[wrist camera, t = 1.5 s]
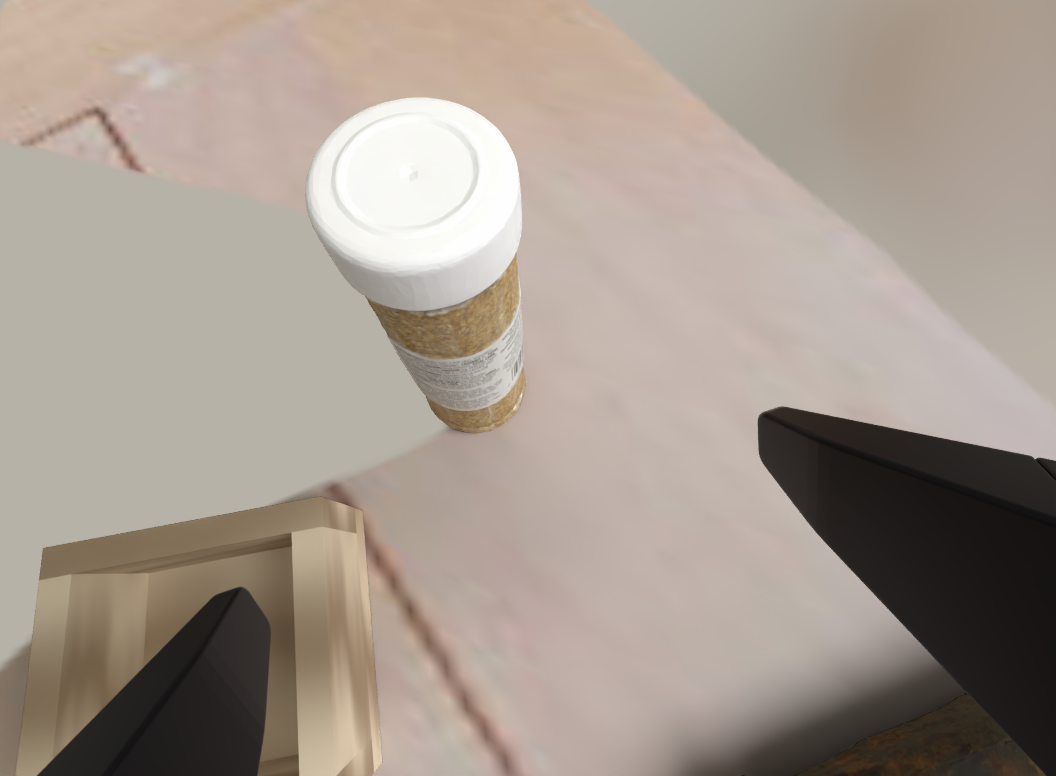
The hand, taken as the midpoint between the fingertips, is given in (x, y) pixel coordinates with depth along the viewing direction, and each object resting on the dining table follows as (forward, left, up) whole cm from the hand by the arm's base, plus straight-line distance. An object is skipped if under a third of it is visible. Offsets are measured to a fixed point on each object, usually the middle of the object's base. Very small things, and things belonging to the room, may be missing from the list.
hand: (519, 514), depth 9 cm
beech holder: (-2, +11, -13) cm, 17 cm away
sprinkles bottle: (+7, +1, -13) cm, 15 cm away
